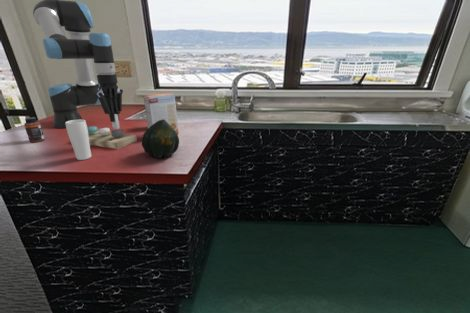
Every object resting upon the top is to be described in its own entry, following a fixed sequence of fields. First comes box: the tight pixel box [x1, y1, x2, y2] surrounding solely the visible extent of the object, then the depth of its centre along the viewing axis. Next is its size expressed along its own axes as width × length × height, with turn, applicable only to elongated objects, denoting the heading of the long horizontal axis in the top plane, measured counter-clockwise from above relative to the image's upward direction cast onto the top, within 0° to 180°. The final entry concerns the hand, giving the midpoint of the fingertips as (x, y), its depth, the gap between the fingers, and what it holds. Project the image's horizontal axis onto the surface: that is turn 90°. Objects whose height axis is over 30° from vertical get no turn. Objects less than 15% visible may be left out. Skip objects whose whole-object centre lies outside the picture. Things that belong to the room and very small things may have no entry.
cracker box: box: [143, 92, 179, 135], centre depth 124 cm, size 14×6×21 cm, turn 135°
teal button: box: [87, 125, 99, 133], centre depth 119 cm, size 5×5×2 cm
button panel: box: [88, 131, 138, 150], centre depth 118 cm, size 26×12×3 cm, turn 69°
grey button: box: [110, 128, 125, 137], centre depth 114 cm, size 5×5×2 cm
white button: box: [97, 127, 111, 135], centre depth 117 cm, size 5×5×2 cm
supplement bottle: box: [23, 116, 46, 143], centre depth 117 cm, size 6×6×11 cm
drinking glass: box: [65, 118, 92, 161], centre depth 97 cm, size 7×7×15 cm
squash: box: [141, 119, 180, 159], centre depth 101 cm, size 14×15×15 cm
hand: (116, 128), depth 113 cm, fingers closed
